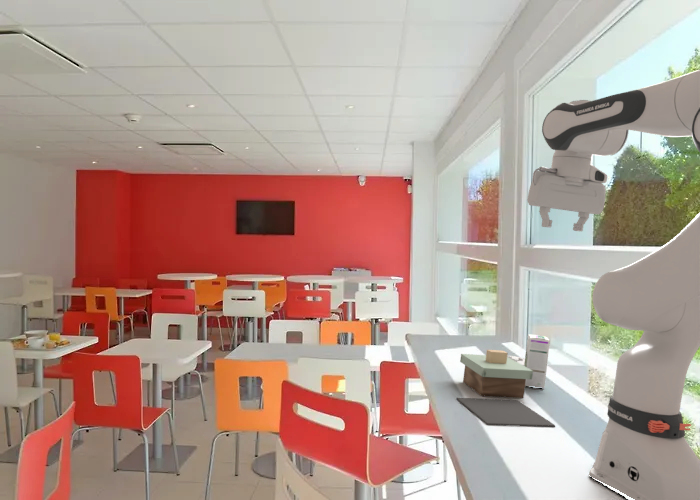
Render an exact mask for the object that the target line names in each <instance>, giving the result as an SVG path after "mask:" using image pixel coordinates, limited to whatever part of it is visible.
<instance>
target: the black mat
mask: <svg viewBox="0 0 700 500" xmlns="http://www.w3.org/2000/svg"><path fill="white" fill-rule="evenodd" d="M456 400H457V401H458V402H459V403H461V404H462V405H463V406H464V407H465V408H467V409H468V410H469V411H470V412H471V413H472V414H474V415H475V416H476V417H478V419H479V420H480V421H482V422H483V423H485V425H487V426H506V425H520V426H519V427H546V428H548V427H549V428H555V427H556V425H555V424H554V423H552V422H551V421H550V420H548V419H546V418H545V417H543V416H542V415H540V414H539V413H538V412H536V411H535V410H533V409H531V408H530V407H528V406H527V405H525V404H524V403H523V402H521V401H520V400H518V399H504V398H503V399H502V398H501V399H500V398H479V397H475V398H474V397H456Z"/></svg>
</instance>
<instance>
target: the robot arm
mask: <svg viewBox="0 0 700 500" xmlns="http://www.w3.org/2000/svg"><path fill="white" fill-rule="evenodd" d="M541 127H542V129H541V132H542V136H543V138H544V141H545V143H546V144H547V146H548V147H549V148H550V150H554V153H553V156H552V159H551V167H546V166H540V167H538V168H536V169H535V170H534V171H533V173H532V181H531V183H530V186H529V189H528V194H527V199H526V201H527V203H528V205H529V206H532V207H538V208H539V210H538V212H539V215H540V218H541V227H542V228H552V223H553V220H552V219H550V216H549V213H551V209H553V210H561V211H567V212H576V213H578V214H577V216H578V219H577V221H576V222H574V223H573V226H572V227H573V228H572V230H573V231H575V232H583V231H584V225H585V224H586V223H587V221H588V220H589V218H590V215H600V214H601V213H602V212H603V211H604V208H605V201H606V193H607V191H606V190H607V189H606V186H605V184H606V183H607V181H608V175H607V173H606V172H603V170H600V169H599V168H598V167H596V166H595V165H593V156H599V157H601V156H602V157H607V156H614V155H616V154H618V153H619V152H620V151H621V150H623V148H624V146H625V145H626V144H627V141H628V137H629V131H633V132H641V133H646V134H650V135H656V136H661V137H669V138H682V137H683V138H684V137H685V138H686V137H687V138H688V137H692V141H693V143H694V146H695V148H696V149H697V151H698V152H699V153H700V69H697V70H695V71H692V72H689V73H686V74H683V75H680V76H677V77H675V78H671V79H668V80H664V81H662V82H658V83H655V84H652V85H648V86H643V87H640V88H637V89H632V90H629V91H625V92H621V93H616V94H612V95H608V96H604V97H601V98H598V99H593V100H588V99H579V100H573V101H570V102H561V103H559V104H558V105H556V106H555V107H554V108H552V109H551V110H550V111H549V112H548V113H547V114H546V116H545V117H544V119H543V122H542V126H541ZM592 304H593V308H594V311H595V313H596V314H597V316H598V317H599V318H600V319H601V320H602V321H603V322H604V323H606V324H610V325H612V326H615V327H619V328H622V329H625V330H630V331H643V333H642V335H641V337H640V338H639V339H638V341H637V342H636V343H635V344H634V345H633V346H632V347H631V348H629V349H627V350H626V351H624V352H623V353H622V354H621V355H620V356H619V357H618V360H617V364H616V372H615V378H614V385H613V391H612V396H610V398H609V401H608V405H607V417H608V422H607V424H606V426H605V428H604V429H603V430H604V431H603V432H602V434H601V438H600V442H599V446H598V449H597V454H596V457H595V460H594V462H593V465H592V468H591V469H590V470H589V473H588V476H589V475H590V476H591V477H593V478H595V479H597V480H599V481H601V482H603V483H605V484H607V485H609V486H611V487H613V488H615V489H617V490H619V491H620V492H622V493H624V494H626V495H627V496H629V497H631V498H633V499H635V500H700V459H699V457H698V455H696V453H695V451H694V449H693V448H692V447H691V446H690V444H689V443H688V441H687V440H686V438H685V436H686V432H685V431H691V430H692V429H690V428H689V427H692V424H691V423H684V419H683V415H682V413H681V411H680V410H681V404H682V403H681V402H682V398H683V392H684V387H685V381H686V377H687V373H688V370H689V367H690V365H691V363H692V361H693V358H694V357H695V355H696V353H697V352H698V350H699V348H700V212H699V213H698V214H696V216H695V217H694V218H693V219H692V220H691V221H690V222H689V223H688V224H686V226H685V227H683V229H682V230H681V231H680V232H679V233H678V234H677V235H676V236H674V237H673V238H672V239H670V240H669V241H668V242H667V243H665V244H664V245H662V246H661V247H658V249H656V250H654V251H653V252H651V253H649V254H647V255H646V256H645V257H642V258H641V259H639V260H637V261H635V262H633V263H631V264H629V265H626V266H624V267H620V268H618V269H615V270H610V271H607V272H605V273H604V274H602V275H601V276H600V277H599V279H598V280H597V282H596V283H595V285H594V288H593V290H592Z"/></svg>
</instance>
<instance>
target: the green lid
mask: <svg viewBox="0 0 700 500" xmlns="http://www.w3.org/2000/svg"><path fill="white" fill-rule="evenodd" d="M485 353H486V354H470V353H468V354H467V353H461V354H460V361H459V362H460V363H462V364H463V365H464V366H465V365H466V366H467V367H469V368H470V369H472V370H473V371H475V372H476V373H478V374H479V375H481V376H482V377H495V378H515V379H532V375H533V371H532V370H531V369H529V368H527V367H525V366H523V365H521V364H519V363H518V362H516V361H514V360H512V359H510V358H508V357H507V355H508V352H507V351H505V350H500V349H499V350H498V349H486V352H485ZM508 356H509V355H508Z"/></svg>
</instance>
